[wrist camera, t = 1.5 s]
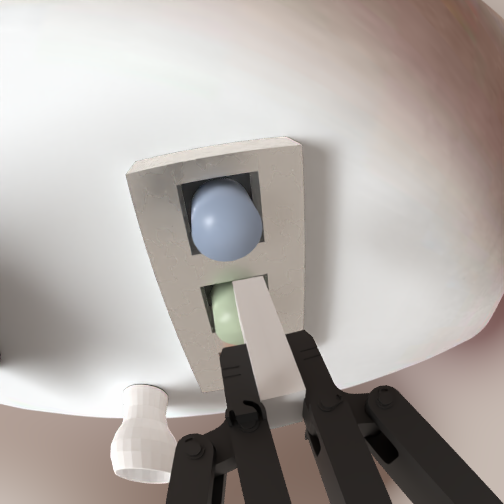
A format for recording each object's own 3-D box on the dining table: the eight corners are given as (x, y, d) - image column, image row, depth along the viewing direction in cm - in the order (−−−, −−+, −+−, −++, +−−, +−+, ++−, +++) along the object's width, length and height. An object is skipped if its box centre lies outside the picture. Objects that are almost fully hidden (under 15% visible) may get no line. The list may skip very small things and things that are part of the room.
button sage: (215, 315, 32) (220, 349, 27) (206, 278, 29) (210, 312, 25) (261, 306, 32) (271, 338, 28) (257, 268, 30) (268, 300, 25)
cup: (183, 385, 42) (191, 471, 29) (169, 413, 46) (174, 486, 33) (118, 372, 38) (111, 461, 25) (113, 403, 42) (109, 478, 29)
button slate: (196, 237, 26) (199, 267, 22) (186, 183, 24) (185, 205, 19) (252, 226, 27) (264, 254, 23) (246, 173, 24) (259, 192, 20)
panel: (199, 367, 40) (202, 392, 36) (135, 161, 24) (125, 174, 20) (292, 348, 41) (301, 371, 38) (285, 136, 26) (302, 144, 22)
